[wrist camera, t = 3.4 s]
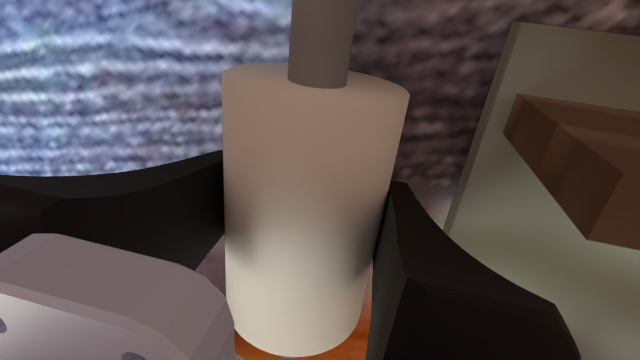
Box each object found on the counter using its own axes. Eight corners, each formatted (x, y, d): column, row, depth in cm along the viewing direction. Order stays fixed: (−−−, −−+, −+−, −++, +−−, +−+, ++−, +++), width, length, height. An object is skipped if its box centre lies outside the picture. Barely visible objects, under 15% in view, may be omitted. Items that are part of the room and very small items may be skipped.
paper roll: (357, 309, 16) (340, 421, 12) (255, 284, 17) (203, 381, 12) (428, -9, 10) (446, -22, 6) (265, -27, 11) (170, -52, 6)
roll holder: (591, 424, 16) (693, 651, 10) (396, 371, 17) (391, 547, 12) (888, 67, 9) (1788, 176, 3) (512, 21, 10) (653, 36, 4)
